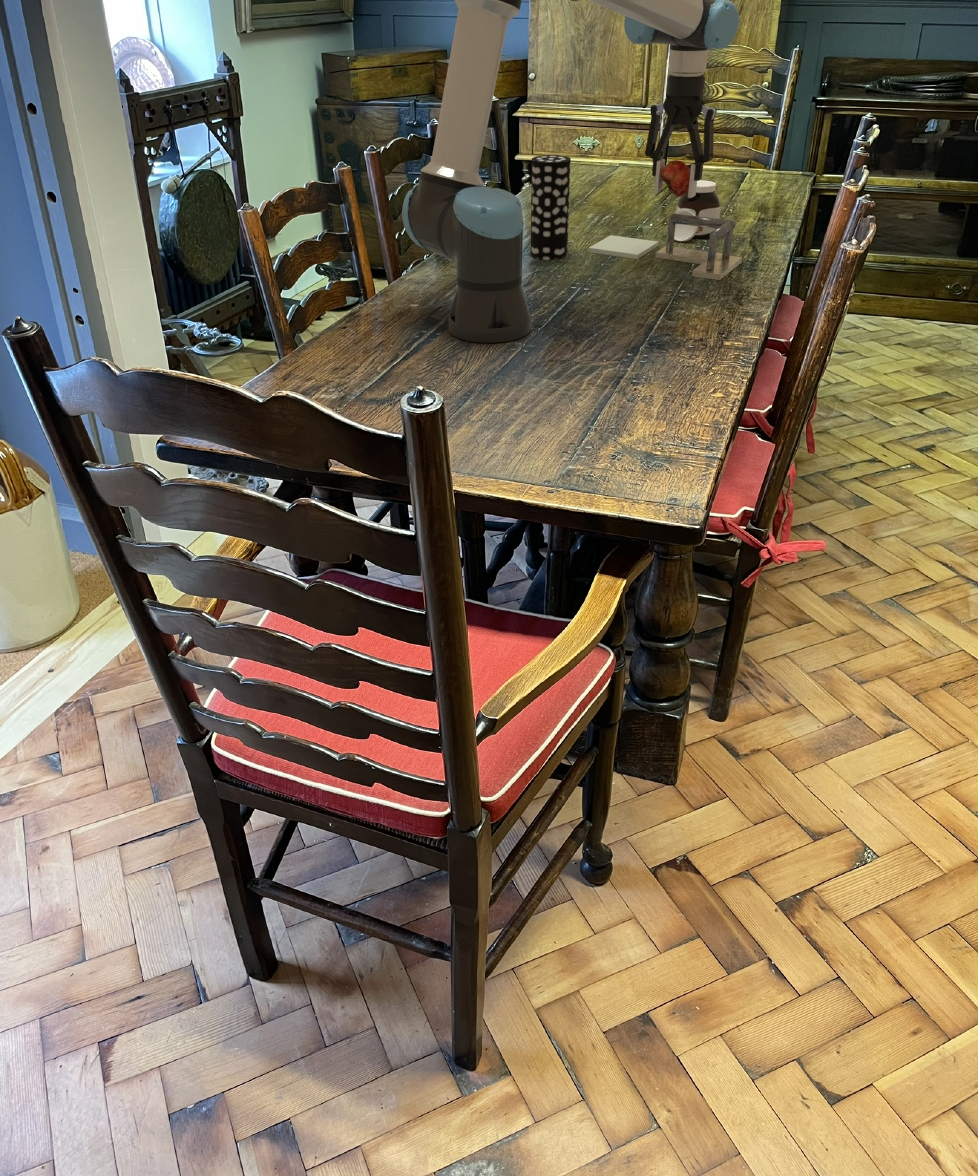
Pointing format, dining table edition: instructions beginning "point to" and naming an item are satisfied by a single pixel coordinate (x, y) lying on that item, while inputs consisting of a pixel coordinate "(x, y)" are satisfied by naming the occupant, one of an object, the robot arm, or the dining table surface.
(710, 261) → the buzz wire
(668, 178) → the pomegranate
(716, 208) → the spread jar
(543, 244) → the white-spotted black cylinder
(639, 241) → the pad
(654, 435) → the dining table surface
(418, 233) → the robot arm
